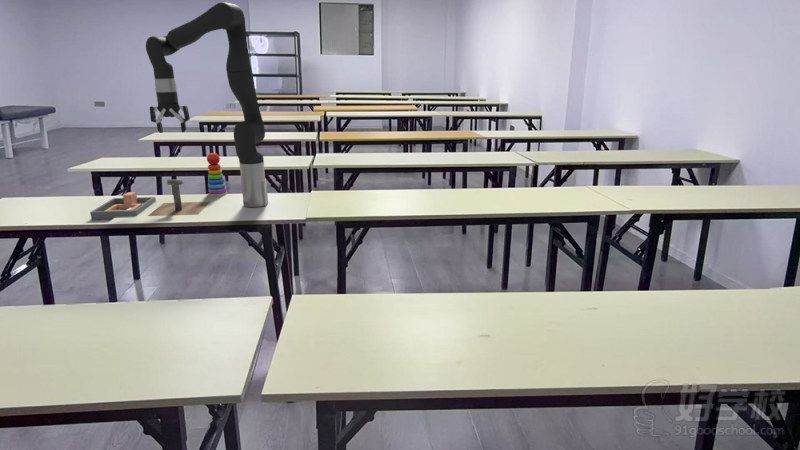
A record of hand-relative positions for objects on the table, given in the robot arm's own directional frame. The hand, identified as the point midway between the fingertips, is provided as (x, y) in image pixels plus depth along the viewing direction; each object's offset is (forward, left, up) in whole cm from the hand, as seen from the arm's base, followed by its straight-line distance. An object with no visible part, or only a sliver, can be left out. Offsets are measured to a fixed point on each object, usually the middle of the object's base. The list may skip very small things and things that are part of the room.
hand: (172, 132), depth 207 cm
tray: (+16, +17, -28) cm, 36 cm away
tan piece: (+16, +16, -27) cm, 35 cm away
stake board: (-5, +19, -28) cm, 34 cm away
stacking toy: (-14, -3, -28) cm, 32 cm away
